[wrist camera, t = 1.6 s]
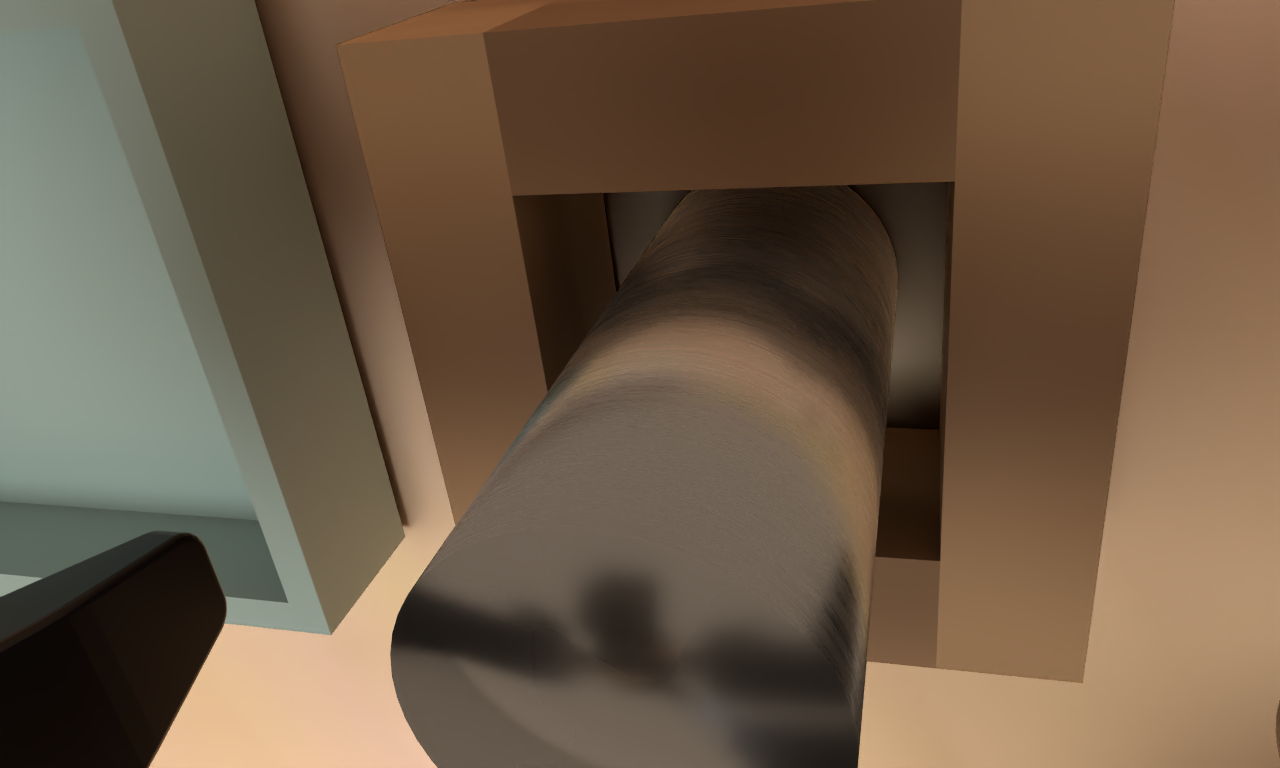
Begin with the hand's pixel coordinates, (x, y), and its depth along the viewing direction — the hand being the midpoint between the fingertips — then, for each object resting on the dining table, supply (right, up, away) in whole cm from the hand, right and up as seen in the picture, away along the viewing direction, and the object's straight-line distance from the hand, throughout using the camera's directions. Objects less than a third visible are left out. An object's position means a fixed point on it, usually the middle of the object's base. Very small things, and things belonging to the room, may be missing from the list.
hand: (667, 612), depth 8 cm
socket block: (+2, +3, +6) cm, 7 cm away
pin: (+2, +3, +6) cm, 7 cm away
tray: (-11, +4, +9) cm, 15 cm away
